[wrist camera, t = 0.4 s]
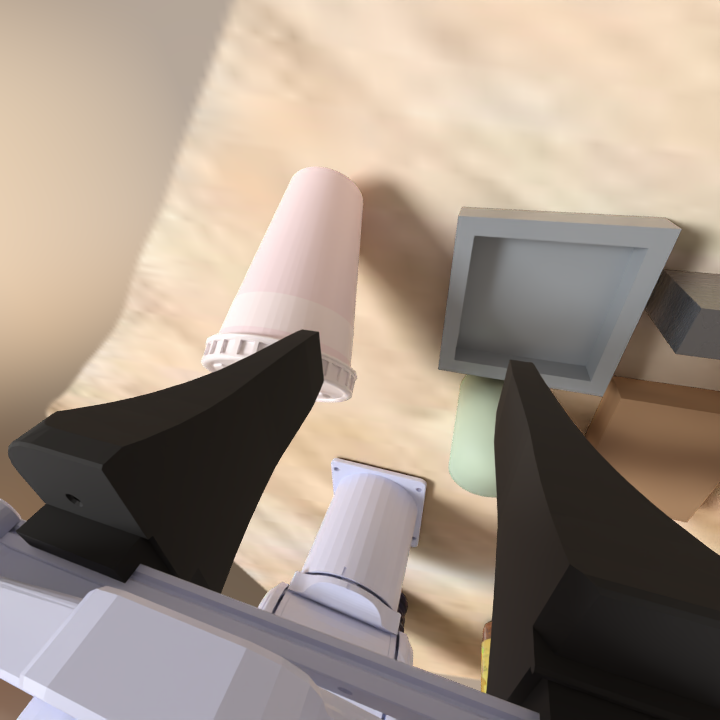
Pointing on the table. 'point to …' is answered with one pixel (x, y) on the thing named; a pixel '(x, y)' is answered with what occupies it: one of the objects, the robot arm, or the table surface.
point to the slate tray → (550, 292)
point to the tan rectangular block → (661, 441)
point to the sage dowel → (475, 435)
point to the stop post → (688, 312)
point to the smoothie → (301, 280)
